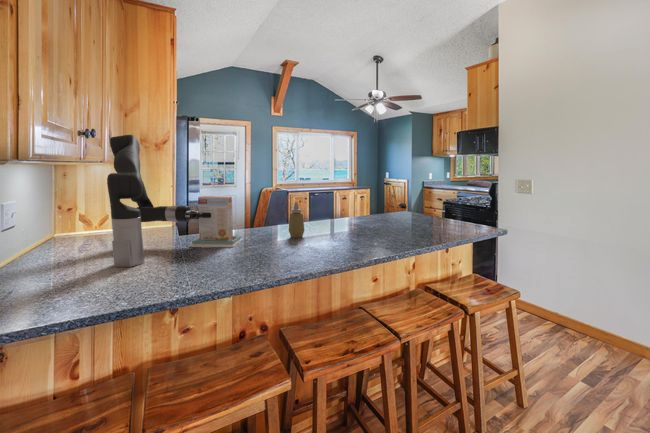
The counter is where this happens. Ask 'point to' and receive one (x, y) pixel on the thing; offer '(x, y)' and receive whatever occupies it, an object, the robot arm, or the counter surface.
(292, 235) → the squeeze bottle
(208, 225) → the cracker box
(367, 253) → the counter surface
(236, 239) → the docking plate
